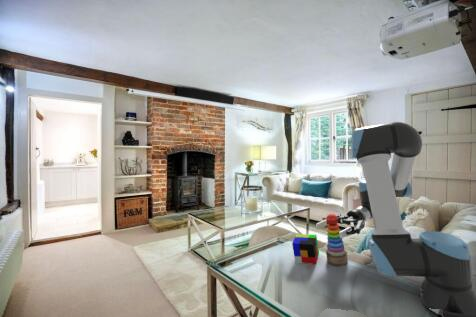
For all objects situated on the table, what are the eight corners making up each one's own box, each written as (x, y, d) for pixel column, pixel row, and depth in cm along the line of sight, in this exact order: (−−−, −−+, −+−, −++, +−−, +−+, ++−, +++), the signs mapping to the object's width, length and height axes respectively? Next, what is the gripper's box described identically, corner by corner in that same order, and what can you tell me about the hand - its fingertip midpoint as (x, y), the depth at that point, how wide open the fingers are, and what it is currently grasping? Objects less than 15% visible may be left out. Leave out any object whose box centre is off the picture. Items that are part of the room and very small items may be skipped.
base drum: (352, 262, 108) (350, 254, 107) (334, 268, 106) (333, 259, 105) (339, 253, 116) (338, 246, 116) (323, 258, 115) (322, 251, 114)
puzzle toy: (295, 262, 116) (292, 243, 115) (299, 251, 125) (296, 234, 124) (316, 264, 111) (313, 244, 110) (319, 253, 120) (316, 234, 119)
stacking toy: (347, 256, 106) (342, 217, 104) (329, 257, 108) (323, 218, 106) (343, 247, 114) (338, 210, 112) (326, 248, 115) (320, 212, 113)
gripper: (383, 230, 107) (352, 247, 97) (338, 217, 129) (309, 230, 120) (381, 214, 106) (350, 230, 97) (336, 204, 128) (307, 216, 119)
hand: (327, 230), depth 108 cm, fingers open, 13 cm apart
